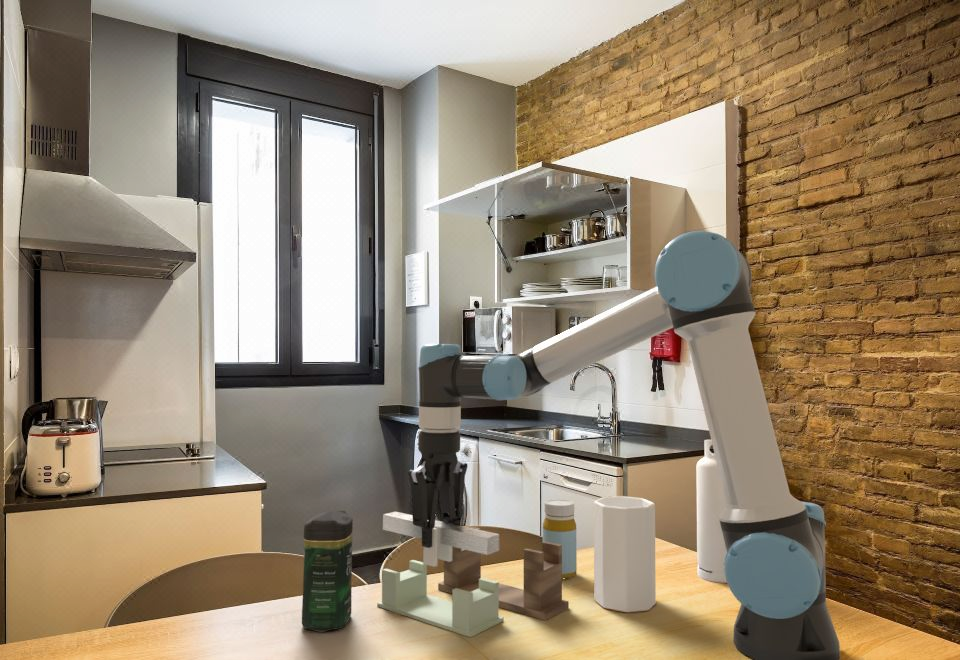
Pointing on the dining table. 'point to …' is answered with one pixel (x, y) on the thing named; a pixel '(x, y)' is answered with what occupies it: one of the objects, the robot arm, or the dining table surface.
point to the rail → (445, 533)
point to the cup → (624, 553)
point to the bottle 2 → (710, 518)
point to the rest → (440, 601)
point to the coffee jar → (327, 571)
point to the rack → (533, 601)
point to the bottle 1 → (562, 532)
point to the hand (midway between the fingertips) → (437, 562)
